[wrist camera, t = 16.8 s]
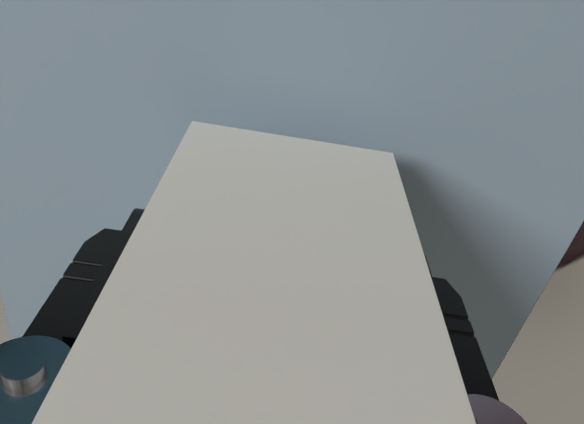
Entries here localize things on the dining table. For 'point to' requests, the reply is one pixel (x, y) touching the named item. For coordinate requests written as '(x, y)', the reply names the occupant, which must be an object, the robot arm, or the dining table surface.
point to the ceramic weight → (266, 297)
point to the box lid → (301, 124)
